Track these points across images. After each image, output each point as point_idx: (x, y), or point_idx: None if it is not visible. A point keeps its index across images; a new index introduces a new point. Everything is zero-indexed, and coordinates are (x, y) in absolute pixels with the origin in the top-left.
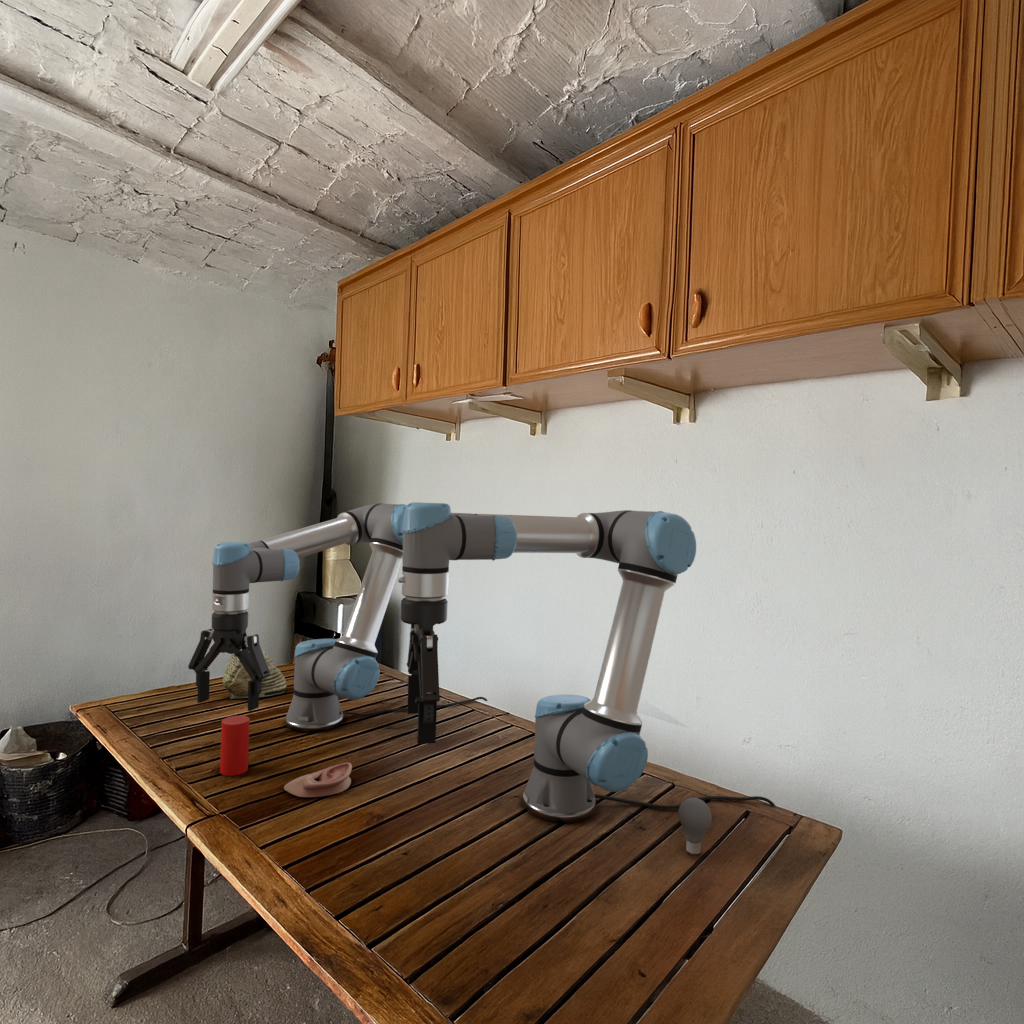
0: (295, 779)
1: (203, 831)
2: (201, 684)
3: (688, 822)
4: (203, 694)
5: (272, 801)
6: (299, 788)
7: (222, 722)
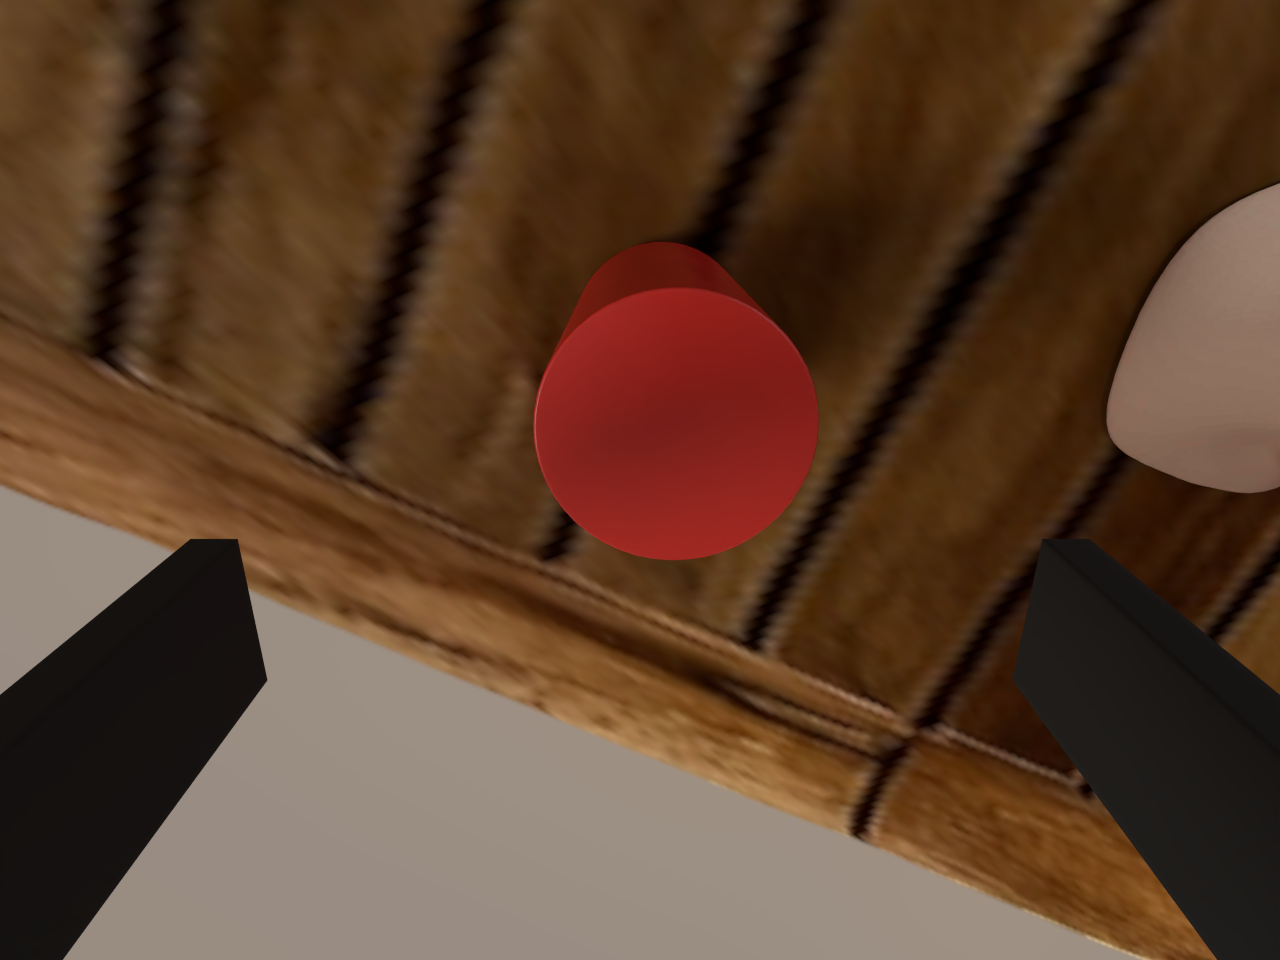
0: (1180, 379)
1: (944, 847)
2: (114, 868)
3: None
4: (208, 695)
5: None
6: (1246, 463)
7: (601, 538)
